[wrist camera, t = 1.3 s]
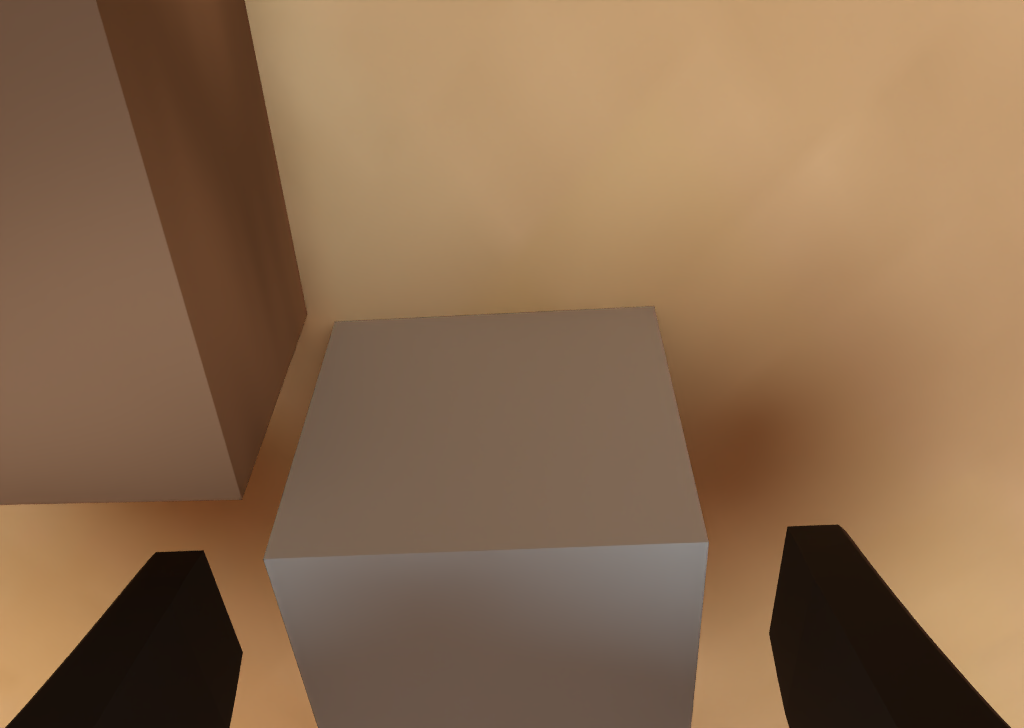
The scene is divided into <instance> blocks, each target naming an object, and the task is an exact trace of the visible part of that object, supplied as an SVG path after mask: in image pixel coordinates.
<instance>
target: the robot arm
mask: <svg viewBox="0 0 1024 728" xmlns="http://www.w3.org/2000/svg"><path fill="white" fill-rule="evenodd" d="M769 635H770V640H771V645H772V651H773V656H774V661H775V666H776V672H777V677H778V682H779V686H780V691H781V696H782V701H783V705H784V710H785V715H786V718H787V721H788V725H789V728H1011V727H1010V726H1009V725H1008V724H1007V723H1006V722H1005V721H1004V720H1003V719H1002V718H1001V717H1000V716H999V715H998V714H997V712H996V711H995V710H994V709H993V708H992V707H991V706H990V705H989V704H988V703H987V702H986V700H985V699H984V698H983V697H982V696H981V695H980V694H979V693H978V692H977V691H976V690H975V688H974V687H973V686H972V685H971V684H970V683H969V682H968V680H967V679H966V678H965V677H964V676H963V675H962V674H961V672H960V671H959V670H958V669H957V668H956V667H955V666H954V664H953V663H952V662H951V661H950V660H949V659H948V658H947V656H946V655H945V654H944V653H943V652H942V651H941V650H940V648H939V647H938V646H937V645H936V644H935V643H934V642H933V640H932V639H931V638H930V637H929V636H928V634H927V633H926V632H925V631H924V630H923V628H922V627H921V626H920V625H919V624H918V622H917V621H916V620H915V619H914V618H913V616H912V615H911V614H910V613H909V611H908V610H907V609H906V608H905V606H904V605H903V604H902V603H901V602H900V600H899V599H898V598H897V597H896V595H895V594H894V593H893V592H892V590H891V589H890V588H889V587H888V585H887V584H886V583H885V582H884V580H883V579H882V578H881V577H880V575H879V574H878V573H877V571H876V570H875V569H874V568H873V566H872V565H871V564H870V562H869V561H868V560H867V558H866V557H865V556H864V555H863V553H862V552H861V551H860V549H859V548H858V547H857V545H856V544H855V543H854V541H853V540H852V539H851V537H850V536H849V535H848V534H847V532H846V531H845V530H844V529H843V528H842V527H840V526H839V525H816V526H791V527H787V532H786V538H785V544H784V550H783V555H782V561H781V567H780V573H779V579H778V585H777V591H776V596H775V602H774V608H773V614H772V620H771V626H770V632H769ZM242 654H243V652H242V649H241V647H240V644H239V642H238V639H237V636H236V634H235V631H234V629H233V626H232V623H231V621H230V618H229V615H228V613H227V610H226V608H225V605H224V602H223V600H222V597H221V595H220V592H219V589H218V587H217V584H216V582H215V579H214V576H213V574H212V571H211V569H210V566H209V563H208V561H207V558H206V556H205V553H204V550H202V551H178V552H156V553H155V554H154V555H153V556H152V557H151V558H150V559H149V560H148V561H147V563H146V564H145V565H144V566H143V567H142V568H141V570H140V571H139V572H138V573H137V574H136V576H135V577H134V578H133V579H132V580H131V582H130V583H129V584H128V585H127V586H126V588H125V589H124V590H123V591H122V592H121V594H120V595H119V596H118V597H117V598H116V600H115V601H114V602H113V603H112V604H111V606H110V607H109V608H108V609H107V611H106V612H105V613H104V614H103V615H102V617H101V618H100V619H99V620H98V621H97V623H96V624H95V625H94V626H93V627H92V629H91V630H90V631H89V632H88V633H87V635H86V636H85V637H84V638H83V639H82V640H81V642H80V643H79V644H78V645H77V646H76V648H75V649H74V650H73V651H72V652H71V654H70V655H69V656H68V657H67V658H66V659H65V660H64V662H63V663H62V664H61V665H60V666H59V667H58V669H57V670H56V671H55V672H54V673H53V674H52V675H51V677H50V678H49V679H48V680H47V681H46V682H45V684H44V685H43V686H42V687H41V688H40V689H39V690H38V692H37V693H36V694H35V695H34V696H33V697H32V699H31V700H30V701H29V702H28V703H27V704H26V705H25V707H24V708H23V709H22V710H21V711H20V712H19V713H18V714H17V715H16V717H15V718H14V719H13V720H12V721H11V722H10V723H9V724H8V725H7V726H6V727H5V728H230V722H231V717H232V712H233V707H234V701H235V696H236V690H237V684H238V678H239V672H240V666H241V660H242Z"/></svg>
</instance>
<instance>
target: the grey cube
mask: <svg viewBox="0 0 1024 728" xmlns="http://www.w3.org/2000/svg"><path fill="white" fill-rule="evenodd" d="M708 546H709V541H708V536H707V532H706V528H705V523H704V519H703V515H702V510H701V506H700V502H699V497H698V493H697V489H696V485H695V480H694V476H693V472H692V467H691V463H690V459H689V454H688V450H687V446H686V441H685V437H684V433H683V428H682V424H681V420H680V415H679V411H678V407H677V402H676V398H675V394H674V390H673V385H672V381H671V377H670V372H669V368H668V364H667V359H666V355H665V351H664V346H663V342H662V338H661V333H660V329H659V325H658V320H657V316H656V312H655V307H654V306H645V307H625V308H604V309H584V310H563V311H543V312H522V313H502V314H481V315H461V316H440V317H420V318H399V319H379V320H358V321H338V322H335V323H334V326H333V330H332V333H331V336H330V339H329V343H328V346H327V349H326V353H325V356H324V359H323V363H322V366H321V369H320V373H319V376H318V379H317V383H316V386H315V389H314V393H313V396H312V399H311V402H310V406H309V409H308V412H307V416H306V419H305V422H304V426H303V429H302V432H301V436H300V439H299V442H298V446H297V449H296V452H295V455H294V459H293V462H292V465H291V469H290V472H289V475H288V479H287V482H286V485H285V489H284V492H283V495H282V499H281V502H280V505H279V508H278V512H277V515H276V518H275V522H274V525H273V528H272V532H271V535H270V538H269V542H268V545H267V548H266V552H265V555H264V558H263V560H264V563H265V566H266V569H267V572H268V575H269V578H270V581H271V585H272V588H273V591H274V594H275V597H276V600H277V603H278V606H279V609H280V612H281V615H282V618H283V621H284V625H285V628H286V631H287V634H288V637H289V640H290V643H291V646H292V649H293V652H294V655H295V658H296V661H297V664H298V668H299V671H300V674H301V677H302V680H303V683H304V686H305V689H306V692H307V695H308V698H309V701H310V704H311V708H312V711H313V714H314V717H315V720H316V723H317V726H318V728H691V721H692V711H693V700H694V690H695V680H696V669H697V659H698V649H699V638H700V628H701V618H702V607H703V597H704V587H705V577H706V566H707V556H708Z"/></svg>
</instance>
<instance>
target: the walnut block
mask: <svg viewBox="0 0 1024 728" xmlns="http://www.w3.org/2000/svg"><path fill="white" fill-rule="evenodd" d="M306 316H307V311H306V306H305V301H304V296H303V291H302V286H301V281H300V276H299V271H298V266H297V261H296V256H295V251H294V246H293V241H292V236H291V231H290V226H289V221H288V216H287V211H286V206H285V201H284V196H283V191H282V186H281V181H280V176H279V171H278V166H277V161H276V156H275V151H274V146H273V141H272V136H271V131H270V126H269V121H268V116H267V111H266V106H265V101H264V96H263V91H262V86H261V81H260V76H259V71H258V66H257V61H256V56H255V51H254V46H253V41H252V36H251V31H250V26H249V21H248V16H247V11H246V6H245V1H244V0H0V505H16V504H62V503H109V502H155V501H201V500H242V498H243V495H244V492H245V490H246V487H247V484H248V481H249V478H250V475H251V472H252V470H253V467H254V464H255V461H256V458H257V455H258V453H259V450H260V447H261V444H262V441H263V438H264V436H265V433H266V430H267V427H268V424H269V421H270V419H271V416H272V413H273V410H274V407H275V404H276V402H277V399H278V396H279V393H280V390H281V387H282V385H283V382H284V379H285V376H286V373H287V370H288V368H289V365H290V362H291V359H292V356H293V353H294V350H295V348H296V345H297V342H298V339H299V336H300V333H301V331H302V328H303V325H304V322H305V319H306Z"/></svg>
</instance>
